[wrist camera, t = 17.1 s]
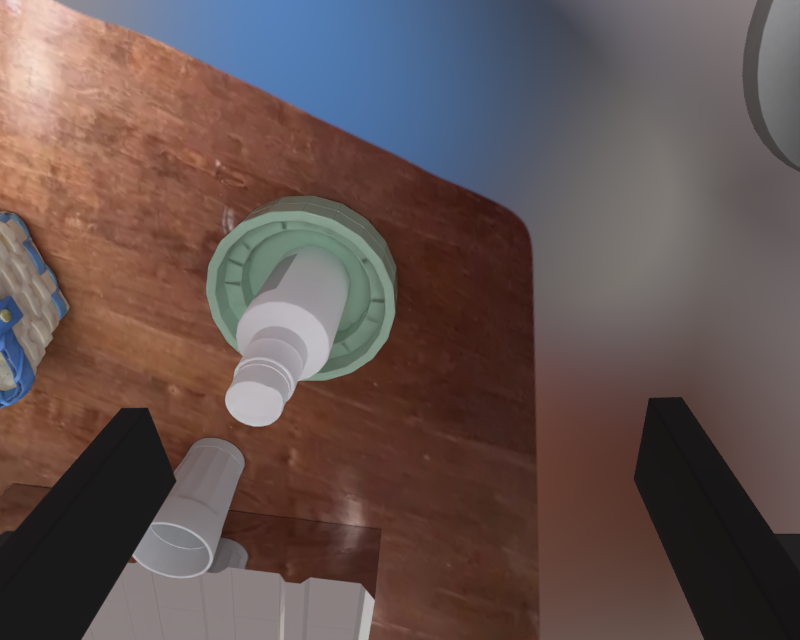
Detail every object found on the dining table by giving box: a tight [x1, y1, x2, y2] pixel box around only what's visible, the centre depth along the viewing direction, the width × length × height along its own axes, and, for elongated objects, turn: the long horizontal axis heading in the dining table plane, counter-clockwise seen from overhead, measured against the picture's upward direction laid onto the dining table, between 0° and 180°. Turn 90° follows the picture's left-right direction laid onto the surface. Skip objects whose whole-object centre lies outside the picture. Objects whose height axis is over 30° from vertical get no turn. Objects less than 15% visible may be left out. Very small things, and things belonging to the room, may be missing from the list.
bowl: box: [206, 195, 398, 381], centre depth 44 cm, size 16×16×5 cm
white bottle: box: [225, 246, 350, 426], centre depth 38 cm, size 7×7×18 cm
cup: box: [132, 438, 245, 578], centre depth 53 cm, size 8×8×12 cm
